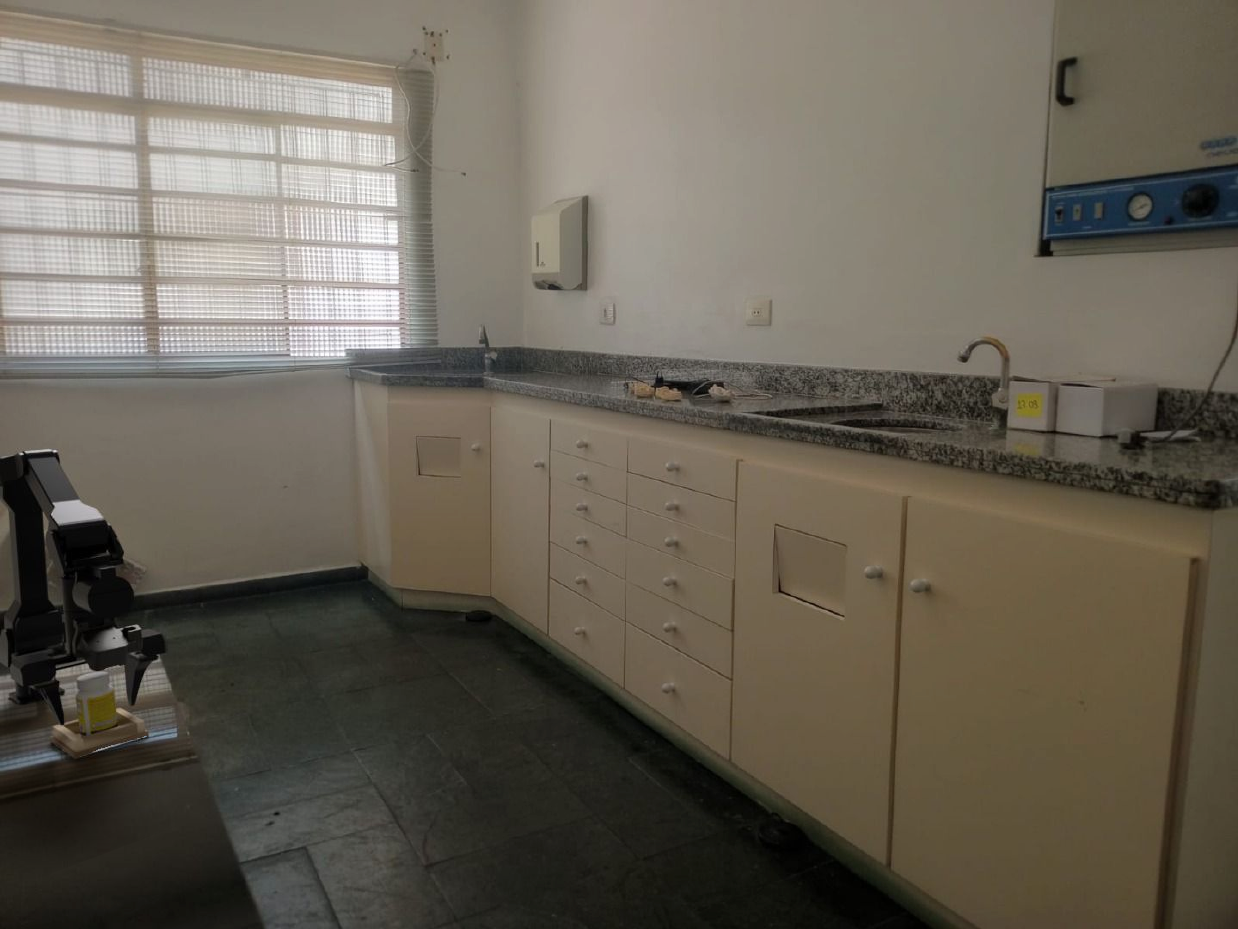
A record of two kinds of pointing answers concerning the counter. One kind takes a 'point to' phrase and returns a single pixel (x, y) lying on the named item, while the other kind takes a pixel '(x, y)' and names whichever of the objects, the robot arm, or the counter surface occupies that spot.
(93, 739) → the jig cradle
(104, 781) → the counter surface
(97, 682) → the supplement bottle
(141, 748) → the counter surface
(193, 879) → the counter surface
